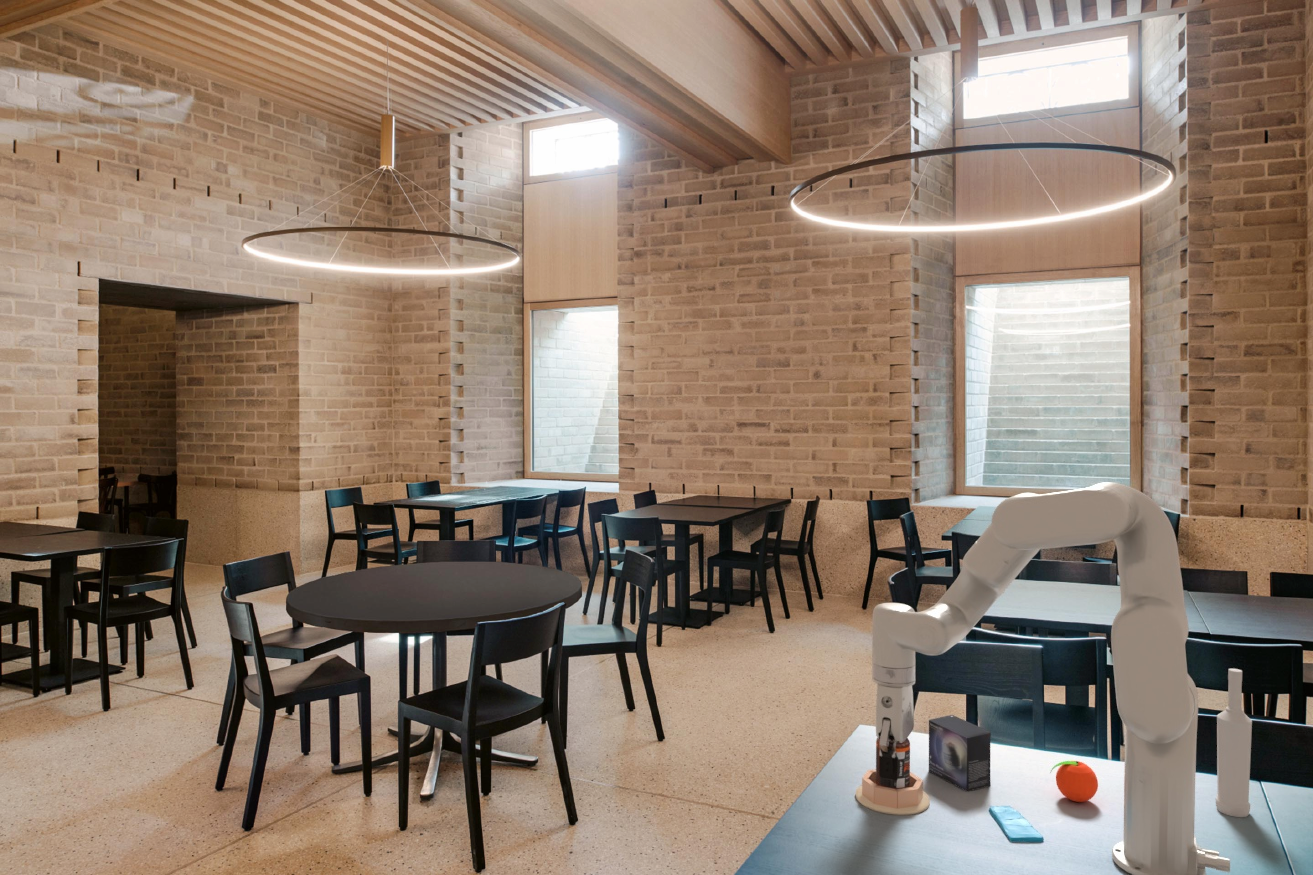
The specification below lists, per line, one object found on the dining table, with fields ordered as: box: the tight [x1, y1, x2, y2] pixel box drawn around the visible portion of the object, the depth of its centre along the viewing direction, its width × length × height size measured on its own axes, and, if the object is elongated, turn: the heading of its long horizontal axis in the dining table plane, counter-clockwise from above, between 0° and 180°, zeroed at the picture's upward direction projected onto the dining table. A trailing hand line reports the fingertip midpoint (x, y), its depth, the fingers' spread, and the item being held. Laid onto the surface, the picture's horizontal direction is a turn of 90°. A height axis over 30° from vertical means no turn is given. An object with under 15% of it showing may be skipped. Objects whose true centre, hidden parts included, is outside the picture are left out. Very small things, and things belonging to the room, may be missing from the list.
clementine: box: [1049, 760, 1099, 803], centre depth 163 cm, size 8×7×7 cm
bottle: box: [1215, 668, 1253, 818], centre depth 158 cm, size 5×5×25 cm
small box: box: [928, 714, 992, 792], centre depth 172 cm, size 11×6×10 cm, turn 25°
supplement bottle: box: [875, 736, 911, 789], centre depth 163 cm, size 6×6×11 cm
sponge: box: [988, 805, 1045, 843], centre depth 153 cm, size 2×12×6 cm
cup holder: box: [855, 768, 931, 816], centre depth 163 cm, size 13×13×4 cm
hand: (893, 770), depth 163 cm, fingers closed on supplement bottle, 6 cm apart
